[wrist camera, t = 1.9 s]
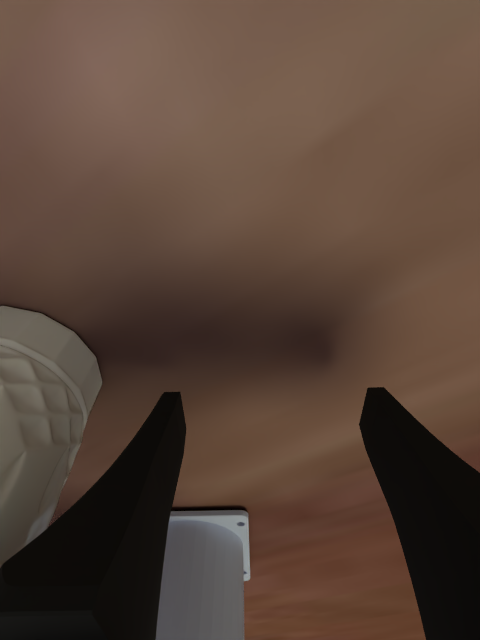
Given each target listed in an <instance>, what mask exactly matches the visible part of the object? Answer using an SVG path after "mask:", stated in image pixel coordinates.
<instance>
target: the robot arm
mask: <svg viewBox="0 0 480 640" xmlns="http://www.w3.org/2000/svg"><path fill="white" fill-rule="evenodd" d="M359 426H360V430H361V434H362V438H363V441H364V445H365V448H366V451H367V454H368V457H369V459H370V462H371V464H372V467H373V469H374V471H375V474H376V476H377V479H378V481H379V484H380V486H381V489H382V491H383V494H384V496H385V498H386V501H387V503H388V506H389V508H390V511H391V514H392V517H393V519H394V522H395V525H396V529H397V532H398V535H399V539H400V542H401V545H402V549H403V552H404V556H405V559H406V563H407V566H408V570H409V573H410V577H411V580H412V584H413V588H414V592H415V596H416V600H417V604H418V608H419V611H420V615H421V620H422V624H423V628H424V632H425V637H426V640H480V473H479V472H478V471H476V470H475V469H474V468H472V467H471V466H470V465H468V464H467V463H466V462H465V461H463V460H462V459H461V458H459V457H458V456H457V455H456V454H455V453H453V452H452V451H451V450H450V449H449V448H447V447H446V446H445V445H444V444H443V443H442V442H440V441H439V440H438V439H437V438H436V437H435V436H434V435H432V434H431V433H430V432H429V431H428V430H427V429H426V428H425V427H424V426H423V425H422V424H421V423H420V422H418V421H417V420H416V419H415V418H414V417H413V416H412V415H411V414H410V413H409V412H408V411H407V410H406V409H405V408H404V407H403V406H402V405H401V404H400V403H399V402H398V401H397V400H396V399H395V398H394V397H393V396H392V395H391V394H390V393H389V392H388V391H387V390H386V389H385V388H384V387H377V388H368V389H367V393H366V397H365V401H364V406H363V410H362V414H361V419H360V423H359ZM185 436H186V424H185V418H184V412H183V406H182V400H181V394H180V392H164V393H163V394H162V396H161V397H160V399H159V401H158V402H157V404H156V406H155V407H154V409H153V410H152V412H151V413H150V415H149V416H148V418H147V419H146V421H145V422H144V424H143V425H142V427H141V428H140V430H139V431H138V432H137V434H136V435H135V437H134V438H133V439H132V441H131V442H130V443H129V444H128V446H127V447H126V448H125V450H124V451H123V452H122V453H121V455H120V456H119V457H118V458H117V460H116V461H115V462H114V463H113V464H112V466H111V467H110V468H109V469H108V470H107V471H106V472H105V473H104V475H103V476H102V477H101V478H100V479H99V480H98V481H97V482H96V483H95V484H94V485H93V486H92V487H91V488H90V489H89V490H88V491H87V492H86V493H85V494H84V495H83V496H82V497H81V498H80V499H79V500H78V501H77V502H76V503H75V504H74V505H73V506H72V507H71V508H70V509H69V510H68V511H66V512H65V513H64V514H63V515H62V516H61V517H60V518H58V519H57V520H56V521H55V522H54V523H53V524H52V525H51V526H49V527H48V528H47V529H46V530H45V531H44V532H42V533H41V534H40V535H39V536H38V537H36V538H35V539H34V540H32V541H31V542H30V543H29V544H27V545H26V546H25V547H24V548H22V549H21V550H20V551H18V552H17V553H16V554H15V555H13V556H12V557H11V558H10V559H8V560H7V561H5V562H4V563H3V564H2V566H1V568H0V640H244V581H247V580H249V579H250V556H249V525H248V513H247V512H246V511H244V510H211V511H171V509H172V504H173V500H174V495H175V491H176V486H177V482H178V477H179V473H180V468H181V463H182V459H183V454H184V445H185Z"/></svg>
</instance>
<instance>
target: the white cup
mask: <svg viewBox="0 0 480 640" xmlns="http://www.w3.org/2000/svg"><path fill="white" fill-rule="evenodd" d="M101 386H102V378H101V374H100V370H99V366H98V362H97V359H96V356H95V355H94V354H93V353H92V352H91V350H90V349H89V348H88V347H87V346H86V345H85V343H84V342H83V341H82V340H81V339H80V338H79V337H78V335H77V334H76V333H75V332H74V331H72V330H70V329H68V328H67V327H65V326H63V325H61V324H60V323H58V322H56V321H54V320H53V319H51V318H49V317H47V316H45V315H44V314H42V313H38V312H33V311H28V310H23V309H18V308H13V307H8V306H0V568H1V566H2V564H3V563H4V562H5V561H7V560H8V559H10V558H11V557H12V556H13V555H15V554H16V553H17V552H18V551H20V550H21V549H22V548H24V547H25V546H26V545H27V544H29V543H30V542H31V541H32V540H34V539H35V538H36V537H38V536H39V535H40V534H41V533H42V532H44V531H45V530H46V529H47V528H48V526H49V523H50V521H51V519H52V517H53V514H54V512H55V510H56V507H57V504H58V501H59V498H60V494H61V491H62V489H63V487H64V485H65V482H66V480H67V478H68V476H69V474H70V471H71V469H72V466H73V463H74V460H75V456H76V454H77V452H78V450H79V447H80V445H81V443H82V440H83V431H84V429H85V426H86V423H87V420H88V418H89V415H90V413H91V411H92V408H93V406H94V404H95V401H96V399H97V396H98V393H99V391H100V388H101Z"/></svg>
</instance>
